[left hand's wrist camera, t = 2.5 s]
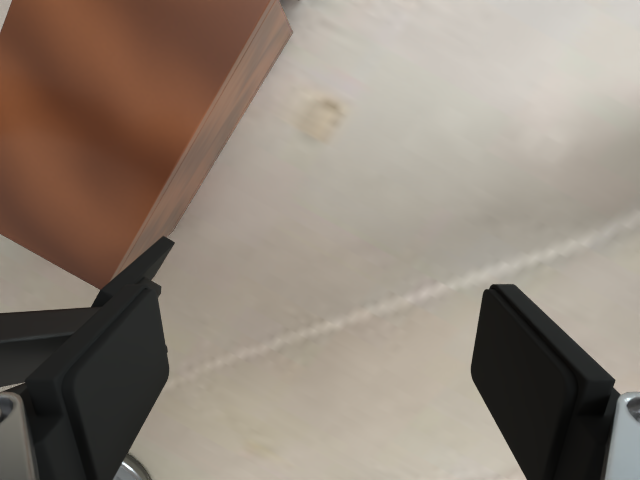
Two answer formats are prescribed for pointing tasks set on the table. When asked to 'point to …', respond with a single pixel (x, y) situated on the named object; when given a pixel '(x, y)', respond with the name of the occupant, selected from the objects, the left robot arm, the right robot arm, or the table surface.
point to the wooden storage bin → (120, 117)
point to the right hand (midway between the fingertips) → (48, 190)
